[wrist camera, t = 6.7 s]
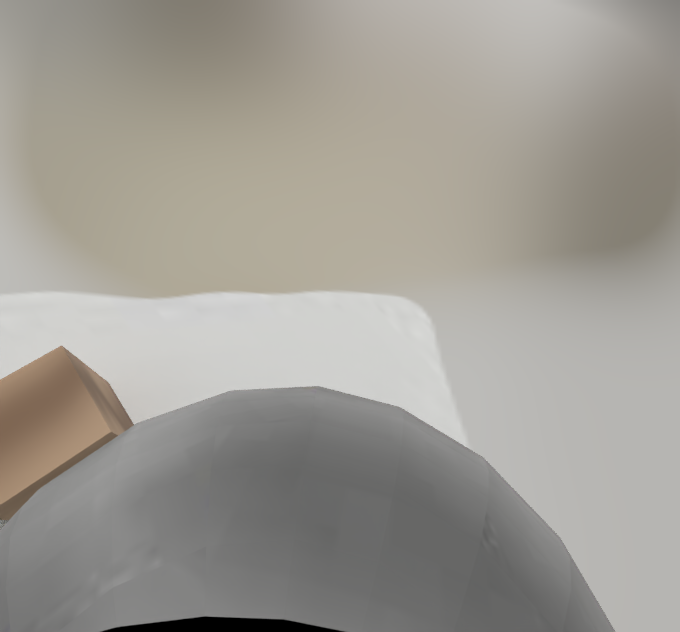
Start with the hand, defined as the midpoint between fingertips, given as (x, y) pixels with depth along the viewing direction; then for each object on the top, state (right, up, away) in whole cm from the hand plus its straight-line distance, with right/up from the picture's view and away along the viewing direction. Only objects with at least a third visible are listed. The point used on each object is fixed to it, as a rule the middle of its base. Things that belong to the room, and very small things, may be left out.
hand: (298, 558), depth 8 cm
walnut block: (-13, -2, +13) cm, 18 cm away
